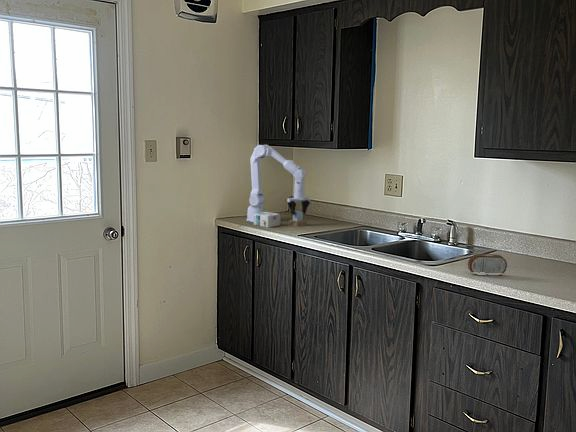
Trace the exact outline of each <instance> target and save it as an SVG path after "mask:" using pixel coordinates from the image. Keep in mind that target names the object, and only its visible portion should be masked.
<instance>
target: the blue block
mask: <svg viewBox="0 0 576 432" xmlns="http://www.w3.org/2000/svg"><path fill="white" fill-rule="evenodd" d="M303 219H304V214H303V212H302V211H300V210H297V211H296V210H295V214H294V215H292V220H293V221H303Z"/></svg>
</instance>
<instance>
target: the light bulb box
mask: <svg viewBox="0 0 576 432" xmlns="http://www.w3.org/2000/svg"><path fill="white" fill-rule="evenodd" d="M253 225H254V226H259V227H264V228H267V229H268V228H273V227H279V226H281V213H278V212H277V213H276V212H270V211H263V212H262V213H254V222H253Z"/></svg>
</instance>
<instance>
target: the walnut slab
mask: <svg viewBox="0 0 576 432" xmlns="http://www.w3.org/2000/svg"><path fill="white" fill-rule="evenodd" d="M289 225H290V226H292V225H293V227H296V226H299V227H307V226H308V221H307V220H303V221H293V219H289Z"/></svg>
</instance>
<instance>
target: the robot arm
mask: <svg viewBox="0 0 576 432" xmlns="http://www.w3.org/2000/svg"><path fill="white" fill-rule="evenodd" d="M265 157H271V158H273V159H274V160H276V161H277V162H278V163H280V164H282V165H283V169H285V170H286V171H287V172H288V173H290V174H291V175H292V176H293V178H294V188H293V197H290V198H288V197H287V198H286V199H287V205H288V208H290V209H289V210H290V214H291V215H292V216H293V215H294V214H295V211H296V206H297V202H301V212H303V215H306V212H307V209H308V207H309V205H310V204H311V202H310V201H311V197H307V196H305V190H306V189H305V186H306V183H305V182H306V181H305V180H306V179H305V177H306V176H307V171H306V170H305V168H303V167H301V165H298V164H296V163H295V162H294V160H291V159H286V158H285V157H283V156H282V155H281V153H279V152H278V151H276V150H275V149H274V148H273V147H271V146H270V145H269V144H258V145H257V146H256V147H254V149H253V152H252V154H251V156H250V158H249V159H250V161H249V162H250V163H249V164H250V174H251V175H250V178H251V179H250V180H251V191H250V194H249V195H250V196H249V200H248V201H249V202H248V203H249V206H248V208H247V212H246V213H247V215H246V216H247V218H246V221H247V222H251V223H254V213H262V212H264V203H265V202H266V201H265V199H266V198H265V196H264V191H263V189H262V182H261V181H262V180H261V179H262V177H261V176H262V175H261V161H262V160H263V159H264V158H265Z"/></svg>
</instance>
